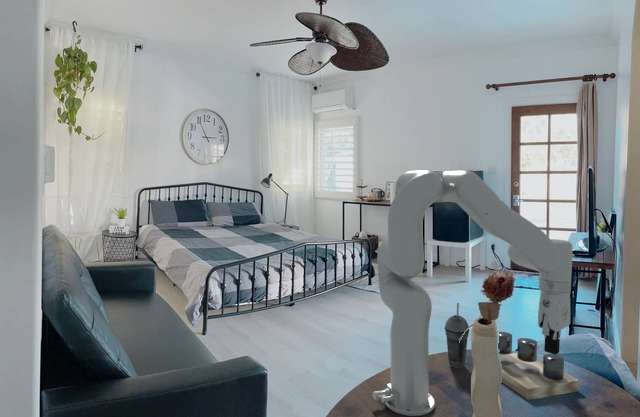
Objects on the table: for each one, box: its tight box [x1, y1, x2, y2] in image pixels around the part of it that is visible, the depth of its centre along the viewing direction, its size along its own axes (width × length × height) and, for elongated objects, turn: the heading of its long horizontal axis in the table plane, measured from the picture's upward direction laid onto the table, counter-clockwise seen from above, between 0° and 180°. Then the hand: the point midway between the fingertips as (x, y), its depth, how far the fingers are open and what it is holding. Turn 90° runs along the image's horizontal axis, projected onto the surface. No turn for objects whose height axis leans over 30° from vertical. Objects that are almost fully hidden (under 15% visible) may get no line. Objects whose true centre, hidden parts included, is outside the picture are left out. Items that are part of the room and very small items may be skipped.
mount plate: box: [500, 352, 579, 401], centre depth 124 cm, size 16×20×3 cm
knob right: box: [542, 353, 565, 380], centre depth 118 cm, size 5×5×5 cm
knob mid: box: [516, 337, 538, 362], centre depth 123 cm, size 5×5×5 cm
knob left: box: [498, 331, 513, 355], centre depth 129 cm, size 5×5×5 cm
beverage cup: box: [444, 302, 470, 369], centre depth 133 cm, size 7×7×20 cm
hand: (551, 352), depth 118 cm, fingers closed
